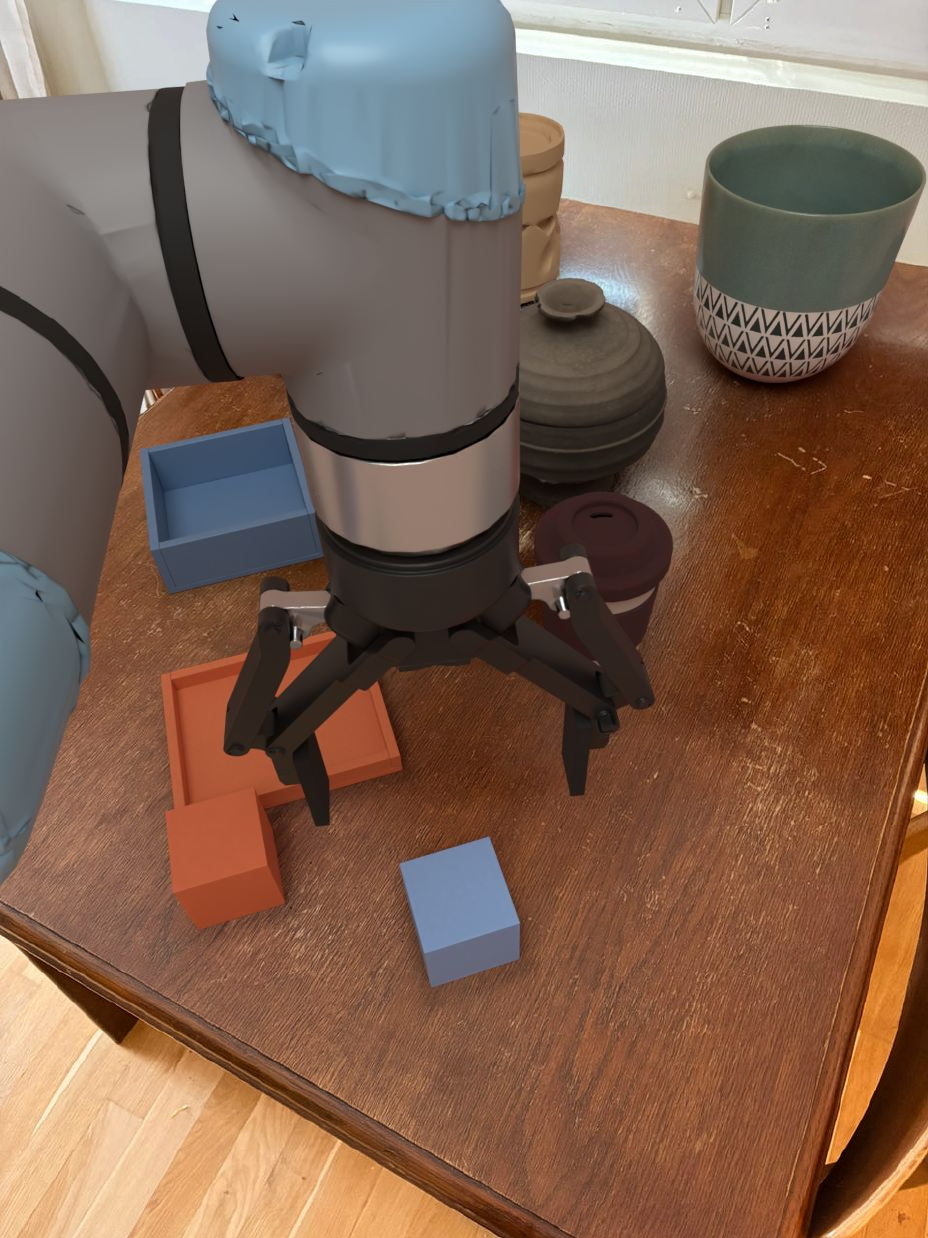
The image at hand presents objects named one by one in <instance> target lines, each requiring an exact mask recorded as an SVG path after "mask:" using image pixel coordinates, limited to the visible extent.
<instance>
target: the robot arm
mask: <svg viewBox="0 0 928 1238" xmlns="http://www.w3.org/2000/svg"><path fill="white" fill-rule="evenodd" d="M205 32H206V42H207V49H208V56H209V61H208V64H207V67H206V72H205V75H206V76H205V78H206V79H204V80H193V81H188V82H185V85H184V86H169V87H168V86H167V87H161V88H149V89H148V88H147V89H137V90H135V89H133V90H121V91H108V92H107V91H106V92H94V93H92V92H91V93H80V94H79V93H78V94H65V95H64V94H63V95H52V96H37V97H36V96H35V97H23V98H10V99H9V98H8V99H0V887H1V886H2V885H3V884H4V883H5V882H6V880H7V879H8V878H9V877H10V876H11V874H12V873H13V872H14V870H15V869H16V867H17V866H18V864H19V862H20V860H21V858H22V856H23V854H24V852H25V851H26V849H27V847H28V844H29V841H30V839H31V836H32V833H33V830H34V828H35V825H36V822H37V819H38V816H39V813H40V810H41V807H42V805H43V802H44V799H45V796H46V792H47V789H48V786H49V782H50V779H51V777H52V774H53V770H54V767H55V763H56V760H57V757H58V754H59V752H60V748H61V744H62V742H63V740H64V735H65V732H66V730H67V726H68V722H69V718H70V716H71V715H72V714H73V712H74V711H75V710H76V708H77V705H78V700H79V696H80V691H81V687H82V683H83V682H84V681H85V679H86V678H87V676H88V675H89V674H90V669H91V663H92V662H91V661H92V645H91V644H92V643H91V634H90V631H91V626H92V622H93V616H94V611H95V605H96V601H97V594H98V590H99V585H100V581H101V576H102V572H103V569H104V568H103V567H104V563H105V559H106V554H107V550H108V546H109V541H110V537H111V533H112V529H113V523H114V519H115V515H116V510H117V505H118V502H119V497H120V492H121V490H122V487H123V484H124V481H125V474H126V471H127V468H128V464H129V459H130V455H131V451H132V447H133V444H134V439H135V434H136V430H137V426H138V423H139V418H140V415H141V411H142V406H143V401H144V398H145V394H146V391H153V390H164V389H171V388H172V389H173V388H181V387H190V386H191V387H192V386H200V385H209V384H218V383H219V384H221V383H229V382H240V381H243V380H244V379H245V378H251V377H264V376H272V375H281V378H282V380H283V383H284V385H285V390H286V397H287V401H288V405H289V406H288V408H289V413H290V418H291V423H292V427H293V431H294V435H295V438H296V442H297V445H298V448H299V452H300V456H301V461H302V465H303V470H304V474H305V478H306V483H307V487H308V491H309V496H310V500H311V504H312V506H313V508H314V510H315V520H316V525H317V530H318V534H319V538H320V543H321V547H322V552H323V556H324V557H323V560H324V564H325V569H326V574H327V578H328V583H327V585H326V586H325V589H324V590H302V591H301V590H300V591H298V590H297V591H291V586H290V584H289V581H288V580H286V579H285V578H283V577H281V576H275V575H273V576H268V577H265V578H263V579H262V580H261V581H260V585H259V598H258V613H257V629H256V632H255V635H254V637H253V639H252V642H251V644H250V647H249V649H248V651H247V652H248V654H247V657H246V659H245V662H244V664H243V666H242V669H241V671H240V674H239V676H238V679H237V681H236V684H235V686H234V689H233V691H232V694H231V696H230V698H229V701H228V703H227V709H226V719H225V732H224V746H223V751H224V752H225V753H226V754H228V755H230V756H244V755H246V754H247V753H248V752H249V751H250V749H259V750H263V751H265V754H266V755H267V756H268V757H270V758H271V760H272V763H273V765H274V768H275V770H276V773H277V776H278V778H279V781H280V782H281V783H283V784H284V785H285V786H287V785H296V784H301V786H302V789H303V792H304V795H305V798H304V799H305V800H306V803H307V806H308V809H309V811H310V814H311V818H312V820H313V823H314V826H315V828H317V827H324V826H330V825H331V805H330V804H331V803H330V802H331V801H330V800H331V799H330V798H331V796H330V794H331V793H330V792H331V790H330V788H329V778H328V774H327V771H326V768H325V764H324V761H323V758H322V754H321V751H320V748H319V745H318V741H317V738H316V735H315V731H316V730H317V729H318V728H319V727H320V726H321V725H322V724H323V723H324V722H325V721H326V720H327V719H328V718H329V717H330V716H331V715H332V714H333V713H334V712H335V711H336V710H337V709H338V708H339V707H341V706H342V705H343V704H344V703H345V702H346V701H347V700H348V699H349V698H350V697H351V696H352V695H353V694H354V693H355V692H356V691H357V690H358V689H360V690H363V691H367V690H368V689H369V688H370V687H371V686H372V685H374V684H375V683H376V682H377V681H378V682H379V680H380V679H381V678H382V677H383V676H384V675H385V674H386V673H387V672H388V671H390V669H392V668H398V671H399V673H405V672H415V671H416V672H417V671H420V670H423V669H427V668H430V667H434V666H441V667H459V666H469V665H472V663H471V662H472V661H471V660H473V659H479V660H481V661H483V662H484V663H485V664H487V665H489V666H491V667H493V668H494V669H496V670H498V671H499V672H500V673H502V674H504V675H507V676H509V675H511V674H512V673H515V674H517V675H519V676H521V677H522V678H524V679H525V680H527V681H529V682H531V683H532V684H534V686H535V685H536V686H537V687H539V688H540V689H542V690H543V691H545V692H547V693H548V694H549V695H552V696H553V697H555V698H556V699H558V700H560V701H562V702H563V703H564V715H563V727H562V728H563V729H562V740H561V759H562V763H563V768H564V772H565V777H566V782H567V783H566V784H567V786H568V792H569V796H570V798H571V797H581V796H585V793H586V784H587V776H588V775H587V774H588V769H589V768H588V767H589V757H590V752H591V750H599V749H605V748H606V747H607V746H608V744H609V742H610V737H611V735H613V734H615V733H617V731H619V730H620V728H621V723H620V719H619V714H618V712H617V711H618V710H619V709H621V708H623V707H627V706H630V708H632V709H633V710H637V711H638V710H639V711H640V710H641V711H642V710H646V709H649V708H651V707H652V706H653V705H654V704H655V703H656V697H655V693H654V690H653V687H652V684H651V683H652V682H651V680H650V675H649V673H648V670H647V667H646V665H645V660H644V657H643V656H642V655H641V653H640V652H639V649H638V650H637V649H636V647H635V646H634V644H633V643H632V641H631V640H630V638H629V637H628V636H627V634H626V633H625V631H624V630H623V628H622V627H621V625H620V624H619V622H618V621H617V619H616V618H615V616H614V615H613V613H612V612H611V610H610V609H609V608H608V606H607V605H606V603H605V602H604V600H603V599H602V597H601V596H600V594H599V593H598V591H597V587H596V584H595V580H594V577H593V573H592V569H591V566H590V562H589V559H588V555H587V552H586V549H585V547H584V546H583V545H581V544H577V543H576V544H569V545H566V546H564V547H563V548H562V549H561V550H560V551H559V554H558V561H559V562H556V563H551V564H546V565H540V566H537V565H535V566H530V567H525V566H524V565H523V563H522V562H521V561H520V522H521V521H520V518H521V517H520V515H521V514H520V513H521V511H520V509H521V508H520V507H521V505H520V504H521V503H520V502H521V500H520V492H519V491H518V490H519V481H520V389H519V366H520V363H519V358H520V310H522V309H521V308H522V307H521V305H522V304H521V260H522V212H523V204H524V203H525V194H526V184H523V176H522V168H521V155H520V131H519V112H520V111H519V110H520V109H519V85H518V61H517V39H516V38H517V37H516V28H515V25H514V21H513V18H512V15H511V13H510V11H509V10H508V8H506V7H505V6H504V4H503V2H502V1H501V0H215V2H214V3H213V4H212V6H211V8H210V11H209V13H208V18H207V24H206V29H205ZM532 600H533V601H534V600H536V601H537V600H538V601H541V602H542V601H544V602H546V603H547V605H548V606H549V608H550V609H551V610H554V611H557V614H558V617H559V618H560V619H568V618H570V619H571V623H572V626H573V628H574V631H575V632H576V634H577V636H578V637H579V639H580V640H581V641H582V642H583V644H584V645H585V646H586V648H587V649H588V650H589V652H590V653H591V654H592V656H593V657H594V658H595V660H596V661H597V662H598V664H599V665H600V666H601V667H600V666H599V665H597V664H596V663H594V662H593V661H591V660H590V659H588V658H587V657H585V656H584V655H583V654H581V653H580V652H578V651H577V650H575V649H574V648H572V647H571V646H569V645H568V644H566V643H565V642H563V641H562V640H560V639H559V638H557V637H556V636H555V635H553V634H552V633H550V632H549V631H547V630H546V629H545V628H544V626H541V625H540V624H538V623H537V622H535V621H534V620H533V619H531V618H530V617H528V615H526V614H525V613H526V612H527V611H528V610H529V608H530V606H531V603H532ZM321 624H326V626H327V627H328V629H329V630H330V631H333V632H334V633H335V634H336V636H335V637H334V639H333V640H332V641H331V642H330V643H329V644H328V645H327V646H326V647H325V648H324V649H323V650H322V651H321V652H320V653H319V654H318V655H317V656H316V657H315V658H314V660H313V661H312V662H311V663H310V664H309V665H308V666H307V667H306V668H305V669H304V670H303V671H302V672H301V673H300V674H299V675H298V676H297V677H296V678H295V679H294V681H293V682H292V683H291V684H290V685H289V686H288V687H287V688H286V689H285V690H284V691H283V692H282V693H281V694H280V695H279V696H278V697H276V696H275V695H276V693H277V691H278V688H279V686H280V684H281V682H282V680H283V678H284V676H285V673H286V671H287V669H288V666H289V663H290V658H291V649H294V650H297V649H300V648H302V646H303V640H304V639H306V638H307V637H310V636H311V632H312V630H313V629H314V627H316V626H318V625H321Z"/></svg>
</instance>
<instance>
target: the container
mask: <svg viewBox="0 0 928 1238" xmlns="http://www.w3.org/2000/svg"><path fill="white" fill-rule="evenodd" d="M519 131H520V155H521V168H522V176H523V184H526V194H525V203H524V204H523V212H522V260H521V305H523V304H525V303H529V302H534V296H536V292H537V290H538V289H539V288H540V287H541V286H543V285H544V284H546V283H548V282H551V281H554V280H557V279H559V276H560V272H561V271H560V267H561V248H562V247H561V245H562V243H561V242H562V238H561V226H560V222H559V216H558V212H559V207H560V203H561V198H562V194H563V184H564V169H565V167H564V166H565V162H564V159H563V158H564V155H565V145H566V144H565V142H566V139H565V138H566V135H565V130H564V127H563V126H562V124H560V123H559V122H558V121H556V120H554V119H553V118H550V117H547V116H544V115H541V114H537V113H530V112H520V111H519Z"/></svg>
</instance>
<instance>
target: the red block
mask: <svg viewBox="0 0 928 1238" xmlns="http://www.w3.org/2000/svg"><path fill="white" fill-rule="evenodd" d="M164 814H165V825H166V835H167V847H168V856H169V864H170V865H169V866H170V867H169V868H170V876H171V878H170V879H171V888H172V889H171V890H172V894H173V895H174V897H175V898H176V900H177V902H178V903H179V904H180V906H181V907H182V909H183V910H184V911H185V913H186V914H187V916H188V917H189V919H190V920H191V922H192V923H193V924H194V926H195V927H196V929H197V931H200V930H204V929H207V928H210V927H213V926H216V925H221V924H223V923H226V922H230V921H233V920H236V919H239V918H243V917H246V916H250V915H252V914H255V913H256V914H257V913H259V912H263V911H266V910H269V909H272V908H276V907H279V906H282V905H285V904H286V896H285V892H284V886H283V880H282V875H281V870H280V863H279V858H278V853H277V846H276V842H275V836H274V831H273V827H272V825H271V822H270V820H269V818H268V815H267V813H266V810H265V809H264V808H263V806H262V804H261V801H260V799H259V797H258V794H257V792H256V790H255V787H251V788H247V789H244V790H240V791H237V792H233V793H230V794H226V795H222V796H219V797H215V798H212V799H208V800H205V801H201V802H197V803H194V804H190V805H187V806H183V807H180V808H176V809H174V808H172V809H169V810H165V812H164Z"/></svg>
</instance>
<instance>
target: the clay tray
mask: <svg viewBox="0 0 928 1238" xmlns="http://www.w3.org/2000/svg"><path fill="white" fill-rule="evenodd" d="M335 636H336V634H335V633H334V632H333V631H331V630H330V631H326V632H322V633H318V634H315V635H309V636H308V637H307V638H306V639H304V640H303V646H302V648H300V649H297V650H294V649H291V658H290V663H289V666H288V669H287V671H286V673H285V676H284V678H283V680H282V682H281V684H280V686H279V688H278V691H277V693H276V695H275V696H276V697H278V696H279V695H280V694H281V693H282V692H283V691H284V690H285V689H286V688H287V687H288V686H289V685H290V684H291V683H292V682H293V681H294V679H295V678H296V677H297V676H298V675H299V674H300V673H301V672H302V671H303V670H304V669H305V668H306V667H307V666H308V665H309V664H310V663H311V662H312V661H313V660H314V658H315V657H316V656H317V655H318V654H319V653H320V652H321V651H322V650H323V649H324V648H325V647H326V646H327V645H328V644H329V643H330V642H331V641H332V640H333V639H334V637H335ZM248 652H249V651H247V652H244V653H239V654H236V655H232V656H228V657H224V658H220V659H216V660H211V661H209V662H204V663H201V664H197V665H192V666H190V667H185V668H181V669H178V670H173V671H170V672H166V673H162V674H160V683H161V693H162V705H163V713H164V722H165V732H166V733H165V734H166V742H167V751H168V760H169V761H168V762H169V772H170V781H171V792H172V800H173V801H172V802H173V809H176V808H180V807H183V806H187V805H190V804H194V803H197V802H201V801H205V800H208V799H212V798H215V797H219V796H222V795H226V794H230V793H233V792H237V791H240V790H244V789H247V788H251V787H255V790H256V792H257V794H258V797H259V799H260V801H261V804H262V806H263V808H264V810H267V809H270V808H274V807H277V806H280V805H285V804H287V803H291V802H295V801H298V800H302V799H306V798H305V795H304V792H303V789H302V786H301V784H296V785H287V786H285V785H284V784H283V783H281V782H280V781H279V778H278V776H277V773H276V770H275V768H274V765H273V763H272V760H271V758H270V757H268V756H267V755H266V754H265V751H263V750H259V749H250V751H249V752H248V753H247V754H246V755H244V756H230V755H228V754H226V753H225V752H224V751H223V746H224V732H225V719H226V709H227V703H228V701H229V698H230V696H231V694H232V691H233V689H234V686H235V684H236V681H237V679H238V676H239V674H240V671H241V669H242V666H243V664H244V662H245V659H246V657H247V654H248ZM315 735H316V738H317V741H318V745H319V748H320V751H321V754H322V758H323V761H324V764H325V768H326V771H327V774H328V778H329V788H330V791H334V790H337V789H340V788H344V787H348V786H351V785H355V784H358V783H362V782H366V781H368V780H372V779H375V778H379V777H383V776H387V775H389V774H393V773H397V772H400V771H403V770H404V769H403V762H402V758H401V754H400V753H401V752H400V750H399V747H398V746H399V745H398V743H397V739H396V737H395V733H394V730H393V727H392V723H391V720H390V716H389V714H388V710H387V707H386V704H385V700H384V697H383V694H382V691H381V687H380V684H379V680H378V681H377V682H376V683H375V684H374V685H372V686H371V687H370V688H369V689H368V690H367V691H363V690H360V689H358V690H357V691H356V692H355V693H354V694H353V695H352V696H351V697H350V698H349V699H348V700H347V701H346V702H345V703H344V704H343V705H342V706H341V707H339V708H338V709H337V710H336V711H335V712H334V713H333V714H332V715H331V716H330V717H329V718H328V719H327V720H326V721H325V722H324V723H323V724H322V725H321V726H320V727H319V728H318V729H317V730H316V731H315Z"/></svg>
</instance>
